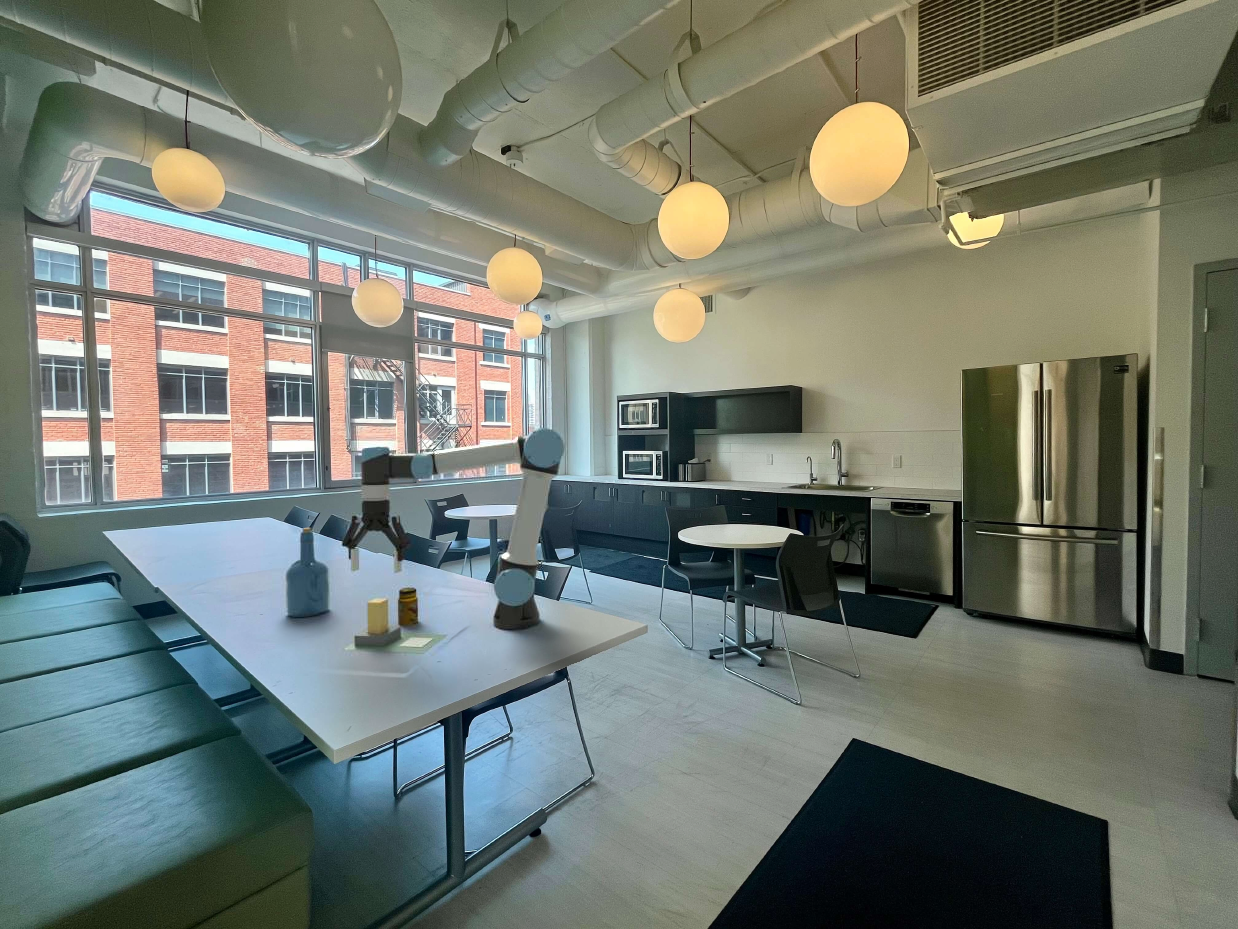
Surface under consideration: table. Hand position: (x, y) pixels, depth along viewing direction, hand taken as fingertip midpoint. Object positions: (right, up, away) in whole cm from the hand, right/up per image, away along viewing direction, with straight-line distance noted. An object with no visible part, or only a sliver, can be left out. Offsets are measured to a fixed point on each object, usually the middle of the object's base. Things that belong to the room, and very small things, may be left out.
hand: (376, 571), depth 156 cm
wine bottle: (-39, -21, +32) cm, 54 cm away
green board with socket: (+6, -22, 0) cm, 23 cm away
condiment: (+2, -22, +17) cm, 27 cm away
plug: (0, -21, +1) cm, 21 cm away
